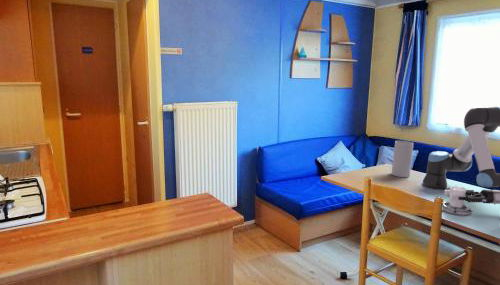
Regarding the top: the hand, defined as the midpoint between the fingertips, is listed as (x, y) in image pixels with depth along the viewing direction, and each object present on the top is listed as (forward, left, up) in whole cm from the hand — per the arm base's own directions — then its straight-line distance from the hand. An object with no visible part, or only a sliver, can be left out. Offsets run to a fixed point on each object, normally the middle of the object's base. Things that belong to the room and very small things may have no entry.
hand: (448, 194), depth 200 cm
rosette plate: (+3, +4, -9) cm, 10 cm away
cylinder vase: (-53, +42, -9) cm, 68 cm away
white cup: (+3, +4, -6) cm, 8 cm away
